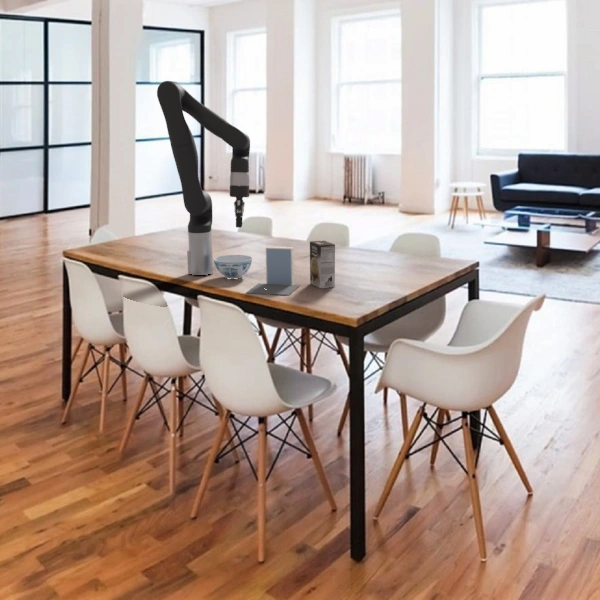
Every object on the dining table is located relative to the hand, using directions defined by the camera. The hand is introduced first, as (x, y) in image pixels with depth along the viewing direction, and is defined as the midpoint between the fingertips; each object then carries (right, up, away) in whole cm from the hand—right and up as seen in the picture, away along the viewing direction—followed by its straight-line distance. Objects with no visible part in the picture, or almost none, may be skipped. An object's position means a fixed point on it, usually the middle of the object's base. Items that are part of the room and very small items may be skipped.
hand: (239, 226), depth 281 cm
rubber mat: (+14, -25, -18) cm, 33 cm away
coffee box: (+32, -23, -12) cm, 41 cm away
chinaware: (-2, -20, +3) cm, 20 cm away
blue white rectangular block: (+16, -22, -9) cm, 29 cm away
